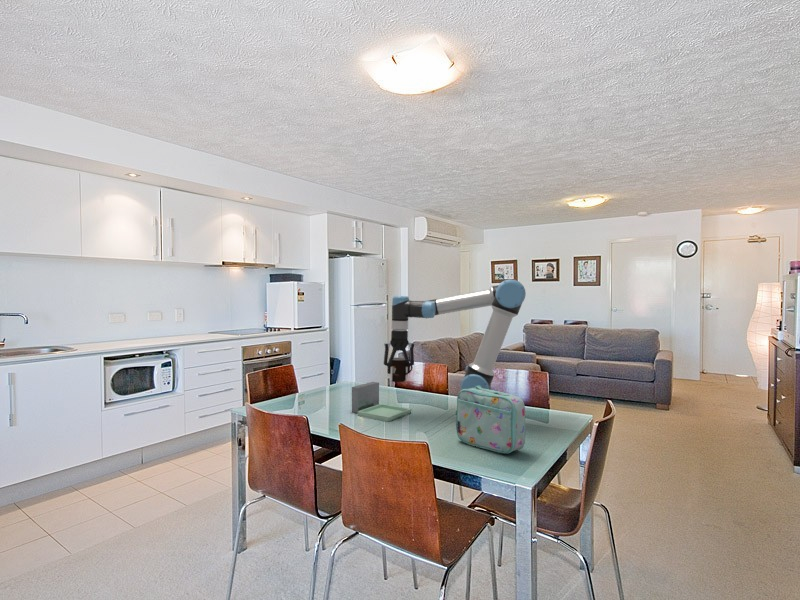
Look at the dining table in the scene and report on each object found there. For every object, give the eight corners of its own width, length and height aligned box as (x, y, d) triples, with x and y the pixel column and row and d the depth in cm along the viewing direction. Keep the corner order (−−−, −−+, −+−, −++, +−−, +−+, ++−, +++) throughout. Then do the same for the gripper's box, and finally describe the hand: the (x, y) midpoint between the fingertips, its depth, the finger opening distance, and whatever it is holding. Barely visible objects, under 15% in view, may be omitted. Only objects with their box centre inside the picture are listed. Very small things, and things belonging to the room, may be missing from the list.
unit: (379, 406, 220) (379, 382, 220) (358, 413, 207) (358, 388, 207) (372, 405, 223) (372, 381, 222) (351, 412, 209) (351, 386, 209)
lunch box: (450, 441, 168) (450, 384, 168) (466, 435, 176) (467, 381, 175) (512, 459, 149) (512, 396, 149) (527, 452, 157) (528, 391, 156)
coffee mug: (385, 379, 204) (385, 358, 204) (402, 378, 208) (402, 357, 208) (396, 384, 194) (396, 361, 193) (413, 383, 197) (414, 360, 197)
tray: (411, 413, 208) (411, 409, 208) (388, 422, 193) (388, 417, 193) (381, 407, 218) (381, 403, 218) (357, 415, 203) (357, 411, 203)
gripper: (418, 329, 206) (417, 378, 206) (377, 329, 202) (376, 379, 202) (422, 330, 199) (421, 382, 199) (379, 330, 195) (378, 382, 195)
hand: (398, 380), depth 201 cm, fingers closed on coffee mug, 6 cm apart
